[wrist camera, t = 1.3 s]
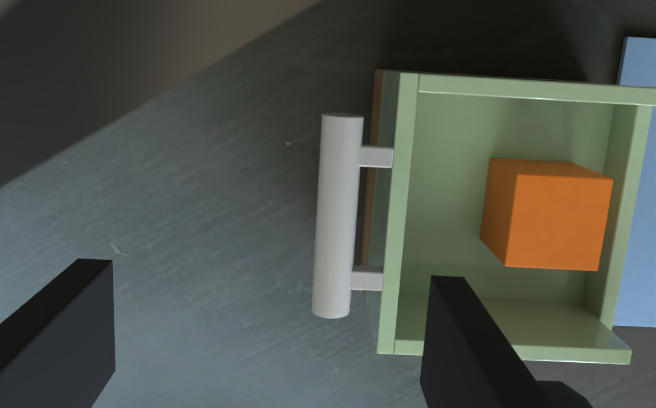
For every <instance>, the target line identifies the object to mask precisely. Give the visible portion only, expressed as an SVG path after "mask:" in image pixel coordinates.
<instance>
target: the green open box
mask: <svg viewBox="0 0 656 408" xmlns="http://www.w3.org/2000/svg"><path fill="white" fill-rule="evenodd" d="M653 106H656V87H652V86H639V85H626V84H611V83H594V82H577V81H561V80H544V79H527V78H511V77H494V76H477V75H461V74H444V73H428V72H411V71H394V70H383V77H382V90H381V103H380V116H379V128H378V141H377V144H362V138H363V124H364V117H363V116H362V115H357V114H348V113H323V114H322V121H321V139H320V157H319V175H318V193H317V211H316V228H315V246H314V264H313V282H312V300H311V310H312V312H313V313H314V314H316V315H318V316H320V317H324V318H341V317H345V316H347V315H348V314H349V312H350V303H351V290H366V294H365V300H366V305H367V310H368V315H369V319H370V324H371V329H372V334H373V339H374V343H375V348H376V353H377V354H393V353H394V354H401V355H423V347H424V338H425V328H426V319H427V309H428V300H429V290H430V281H431V275H436V276H457V277H464V278H465V279H466V281H467V282H468V284H469V285H470V286H471V288H472V289H473V291H474V292H475V294H476V295H477V297H478V298H479V299H480V301H481V302H482V304H483V305H484V307H485V308H486V310H487V311H488V312H489V314H490V315H491V317H492V318H493V320H494V321H495V323H496V324H497V325H498V327H499V328H500V330H501V331H502V333H503V334H504V336H505V337H506V338H507V340H508V341H509V343H510V344H511V346H512V347H513V348H514V350H515V351H516V353H517V354H518V356H519V357H520V359H521V360H538V361H561V362H584V363H607V364H630V360H631V355H632V349H631V348H630V347H628V346H627V345H626V344H625V343H624V342H623V341H622V340H621V339H620V338H619V337H617V336H616V335H615V334H614V333H613V332H612V326H613V320H614V315H615V309H616V304H617V299H618V293H619V288H620V282H621V277H622V271H623V266H624V261H625V255H626V250H627V244H628V239H629V234H630V228H631V223H632V217H633V212H634V207H635V201H636V196H637V190H638V185H639V179H640V174H641V169H642V163H643V158H644V152H645V147H646V142H647V136H648V131H649V125H650V120H651V115H652V109H653ZM490 158H501V159H519V160H537V161H555V162H572V163H575V164H577V165H580V166H582V167H585V168H587V169H590V170H592V171H595V172H597V173H600V174H602V175H605V176H607V177H610V178H612V179H613V186H612V191H611V197H610V203H609V209H608V214H607V220H606V226H605V232H604V237H603V243H602V249H601V254H600V260H599V266H598V270H597V271H585V270H565V269H544V268H524V267H506V266H504V265H503V264H502V263H501V262H500V260H499V259H498V258H497V257H496V256H495V255H494V254H493V253H492V252H491V251H490V250H489V249H488V247H487V246H486V245H485V244H484V243H483V242H482V241H481V240H480V231H481V223H482V215H483V206H484V198H485V190H486V182H487V174H488V166H489V159H490ZM360 167H375V179H374V192H373V205H372V218H371V230H370V243H369V256H368V266H360V265H353V262H354V248H355V234H356V221H357V207H358V193H359V179H360Z"/></svg>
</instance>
